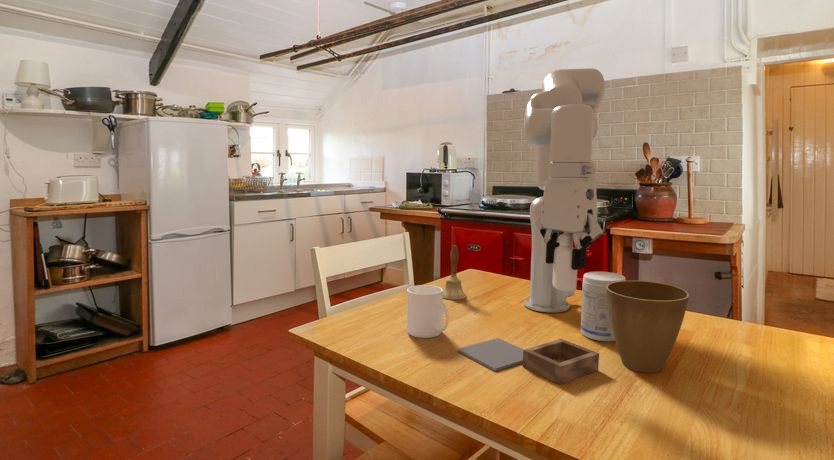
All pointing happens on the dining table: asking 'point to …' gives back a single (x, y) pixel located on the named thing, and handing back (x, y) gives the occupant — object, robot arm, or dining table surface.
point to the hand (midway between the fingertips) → (564, 264)
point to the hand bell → (453, 279)
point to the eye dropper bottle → (564, 265)
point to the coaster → (494, 354)
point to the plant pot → (645, 321)
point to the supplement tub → (597, 305)
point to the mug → (425, 311)
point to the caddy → (575, 366)
